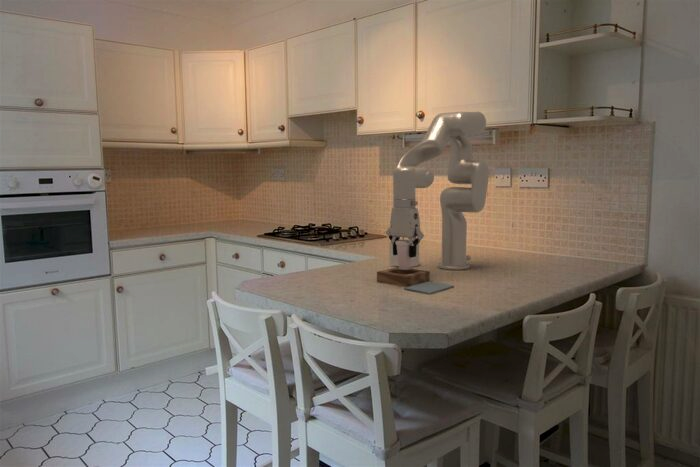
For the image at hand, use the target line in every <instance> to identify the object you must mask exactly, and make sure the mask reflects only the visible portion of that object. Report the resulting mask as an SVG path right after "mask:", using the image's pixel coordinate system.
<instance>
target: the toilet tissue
mask: <svg viewBox="0 0 700 467" xmlns="http://www.w3.org/2000/svg"><path fill="white" fill-rule="evenodd" d="M399 240H402V238H400V239H399ZM404 240H409V239H408V238H404ZM388 244H389V259H388V260H389V262H388V266H392V267H399V263H398V255H393V244H392V243H391V241H389V243H388ZM419 265H420V242H419V243H418V245H416V257H412V258H411V264H410V268H411V267H412V268H414V267H418V266H419Z"/></svg>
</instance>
